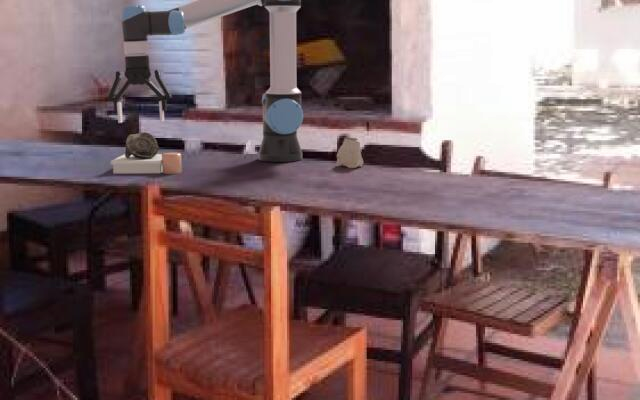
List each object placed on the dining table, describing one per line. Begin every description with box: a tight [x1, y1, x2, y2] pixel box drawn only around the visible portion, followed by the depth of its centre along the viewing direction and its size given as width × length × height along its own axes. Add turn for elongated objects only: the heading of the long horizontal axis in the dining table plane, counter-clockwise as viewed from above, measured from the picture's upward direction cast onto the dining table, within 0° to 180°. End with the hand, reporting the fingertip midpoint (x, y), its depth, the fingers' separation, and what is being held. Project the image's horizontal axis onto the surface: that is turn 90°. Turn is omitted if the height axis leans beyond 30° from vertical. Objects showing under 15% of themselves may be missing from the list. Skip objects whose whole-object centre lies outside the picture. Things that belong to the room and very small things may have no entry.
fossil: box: [124, 131, 160, 159], centre depth 298 cm, size 11×9×10 cm
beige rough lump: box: [336, 137, 364, 169], centre depth 299 cm, size 9×8×10 cm
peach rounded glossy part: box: [161, 152, 183, 175], centre depth 292 cm, size 6×6×6 cm
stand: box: [110, 153, 163, 175], centre depth 299 cm, size 16×16×4 cm
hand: (141, 122), depth 297 cm, fingers open, 13 cm apart
